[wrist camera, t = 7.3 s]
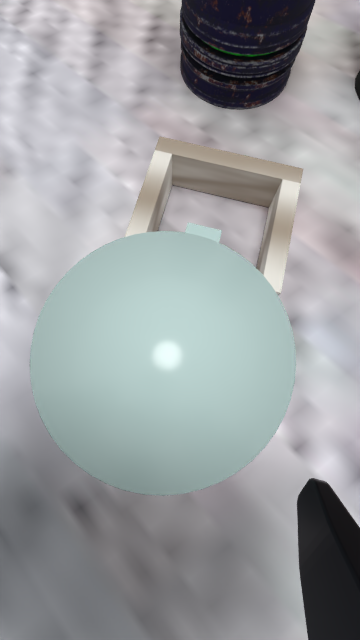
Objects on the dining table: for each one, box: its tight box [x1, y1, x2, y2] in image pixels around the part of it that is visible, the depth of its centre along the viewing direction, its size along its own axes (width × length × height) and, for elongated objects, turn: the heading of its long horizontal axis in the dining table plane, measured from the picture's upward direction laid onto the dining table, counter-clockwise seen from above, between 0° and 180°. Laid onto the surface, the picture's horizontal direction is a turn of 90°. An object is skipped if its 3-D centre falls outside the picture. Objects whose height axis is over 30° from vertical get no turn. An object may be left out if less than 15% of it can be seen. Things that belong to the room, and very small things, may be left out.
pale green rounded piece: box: [30, 223, 296, 496], centre depth 13 cm, size 8×6×13 cm
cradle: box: [125, 137, 303, 295], centre depth 21 cm, size 9×10×3 cm
